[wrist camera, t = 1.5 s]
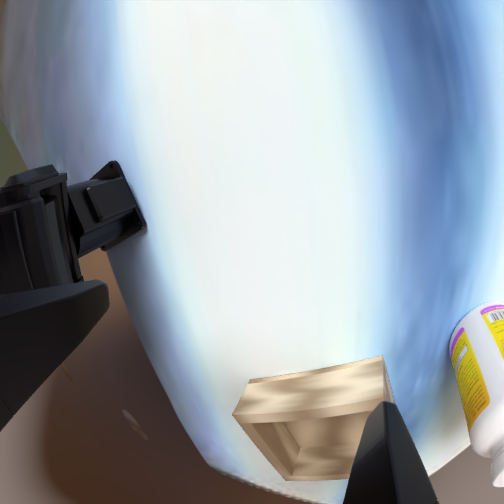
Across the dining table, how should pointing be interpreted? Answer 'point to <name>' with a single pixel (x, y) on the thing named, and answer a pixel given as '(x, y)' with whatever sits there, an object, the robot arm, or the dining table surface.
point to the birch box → (313, 417)
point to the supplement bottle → (482, 380)
